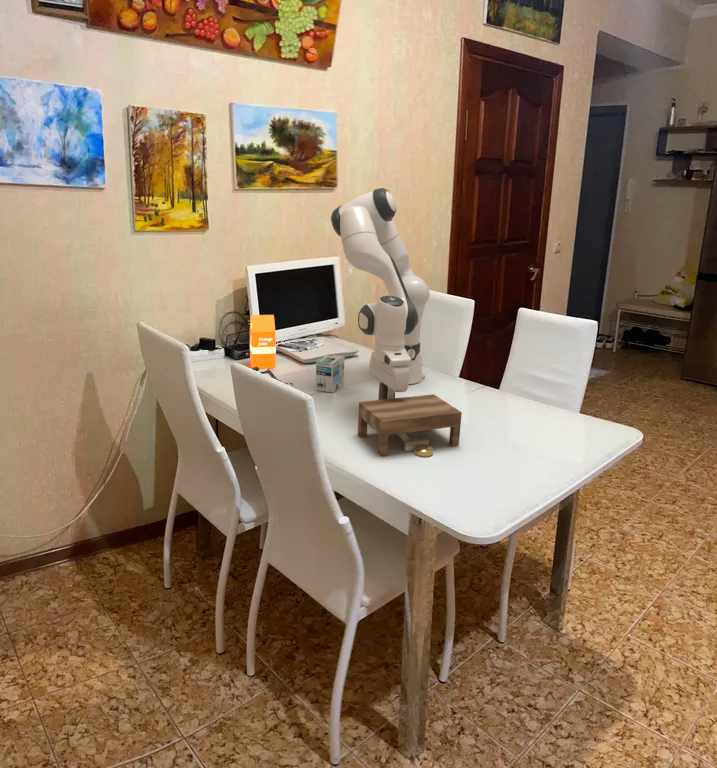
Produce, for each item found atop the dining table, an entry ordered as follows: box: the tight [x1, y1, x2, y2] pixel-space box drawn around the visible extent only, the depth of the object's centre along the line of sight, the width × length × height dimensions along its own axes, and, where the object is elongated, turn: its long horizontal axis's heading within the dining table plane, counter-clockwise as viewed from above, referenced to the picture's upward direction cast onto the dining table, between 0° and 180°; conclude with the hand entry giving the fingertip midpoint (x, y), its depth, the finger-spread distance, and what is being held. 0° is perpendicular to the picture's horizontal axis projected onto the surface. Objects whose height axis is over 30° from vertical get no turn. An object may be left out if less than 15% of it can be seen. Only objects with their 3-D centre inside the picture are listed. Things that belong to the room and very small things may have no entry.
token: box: [413, 445, 434, 458], centre depth 172 cm, size 5×5×2 cm
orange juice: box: [249, 314, 277, 370], centre depth 243 cm, size 8×9×20 cm
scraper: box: [377, 383, 430, 452], centre depth 183 cm, size 24×7×12 cm, turn 22°
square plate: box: [276, 336, 360, 364], centre depth 265 cm, size 27×27×4 cm
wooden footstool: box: [357, 393, 463, 457], centre depth 179 cm, size 16×24×10 cm, turn 112°
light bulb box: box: [315, 354, 346, 393], centre depth 222 cm, size 11×7×11 cm, turn 160°
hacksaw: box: [252, 367, 294, 386], centre depth 233 cm, size 24×10×2 cm, turn 20°
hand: (386, 397), depth 191 cm, fingers closed on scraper, 3 cm apart
